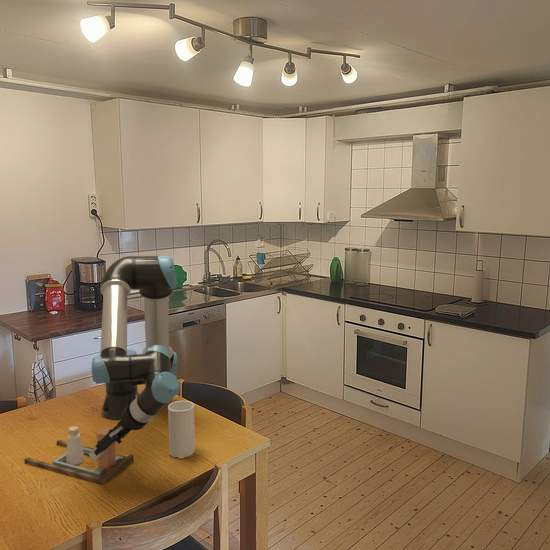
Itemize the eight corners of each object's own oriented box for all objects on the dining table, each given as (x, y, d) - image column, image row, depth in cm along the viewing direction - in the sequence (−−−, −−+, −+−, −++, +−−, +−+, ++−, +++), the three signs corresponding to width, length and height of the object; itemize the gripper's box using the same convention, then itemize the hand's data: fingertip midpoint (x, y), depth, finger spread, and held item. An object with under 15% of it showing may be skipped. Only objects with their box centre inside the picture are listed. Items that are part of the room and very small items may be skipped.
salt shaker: (67, 467, 156) (65, 433, 154) (64, 459, 160) (62, 426, 159) (86, 462, 159) (84, 429, 157) (82, 455, 163) (80, 422, 162)
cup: (170, 446, 169) (169, 400, 167) (195, 445, 170) (194, 400, 167) (167, 459, 161) (166, 411, 159) (194, 458, 162) (193, 410, 159)
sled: (123, 461, 159) (122, 425, 157) (99, 478, 149) (97, 440, 147) (78, 450, 166) (76, 415, 164) (52, 465, 156) (50, 429, 154)
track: (134, 461, 159) (133, 454, 159) (103, 484, 146) (102, 477, 146) (59, 443, 171) (59, 436, 170) (24, 462, 158) (24, 455, 158)
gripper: (149, 392, 155) (108, 433, 163) (112, 413, 139) (69, 457, 148) (164, 411, 153) (122, 451, 162) (128, 434, 138) (84, 477, 147)
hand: (97, 454), depth 155 cm, fingers closed on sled, 3 cm apart
